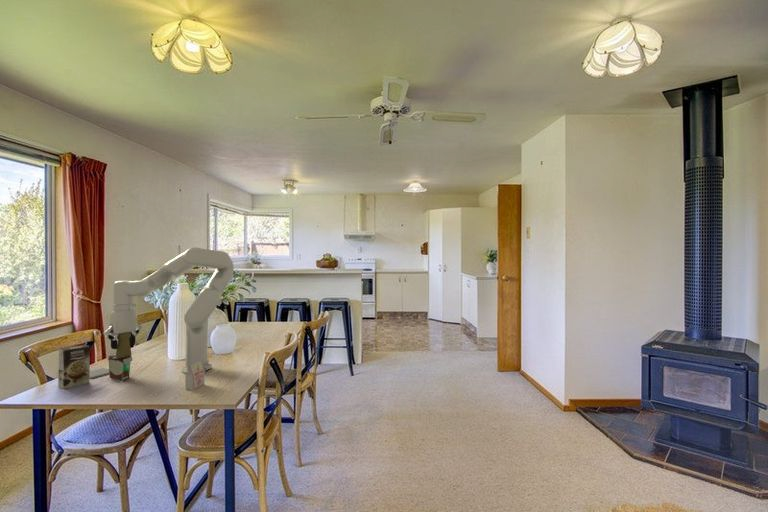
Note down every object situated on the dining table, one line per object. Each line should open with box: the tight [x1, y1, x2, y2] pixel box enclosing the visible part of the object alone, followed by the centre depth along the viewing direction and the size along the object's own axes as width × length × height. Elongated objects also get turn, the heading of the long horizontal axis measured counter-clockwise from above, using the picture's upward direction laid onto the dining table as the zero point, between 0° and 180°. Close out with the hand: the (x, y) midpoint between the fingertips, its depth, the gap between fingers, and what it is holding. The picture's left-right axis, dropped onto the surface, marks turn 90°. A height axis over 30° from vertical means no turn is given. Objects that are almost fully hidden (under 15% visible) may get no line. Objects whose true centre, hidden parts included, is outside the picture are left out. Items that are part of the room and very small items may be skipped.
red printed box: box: [184, 361, 206, 391], centre depth 155 cm, size 4×7×10 cm, turn 167°
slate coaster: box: [89, 367, 109, 380], centre depth 170 cm, size 10×10×1 cm
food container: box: [107, 354, 133, 382], centre depth 165 cm, size 12×6×10 cm, turn 65°
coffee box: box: [57, 344, 91, 390], centre depth 157 cm, size 9×6×16 cm
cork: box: [115, 332, 133, 358], centre depth 165 cm, size 6×6×11 cm
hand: (123, 346), depth 165 cm, fingers open, 7 cm apart
